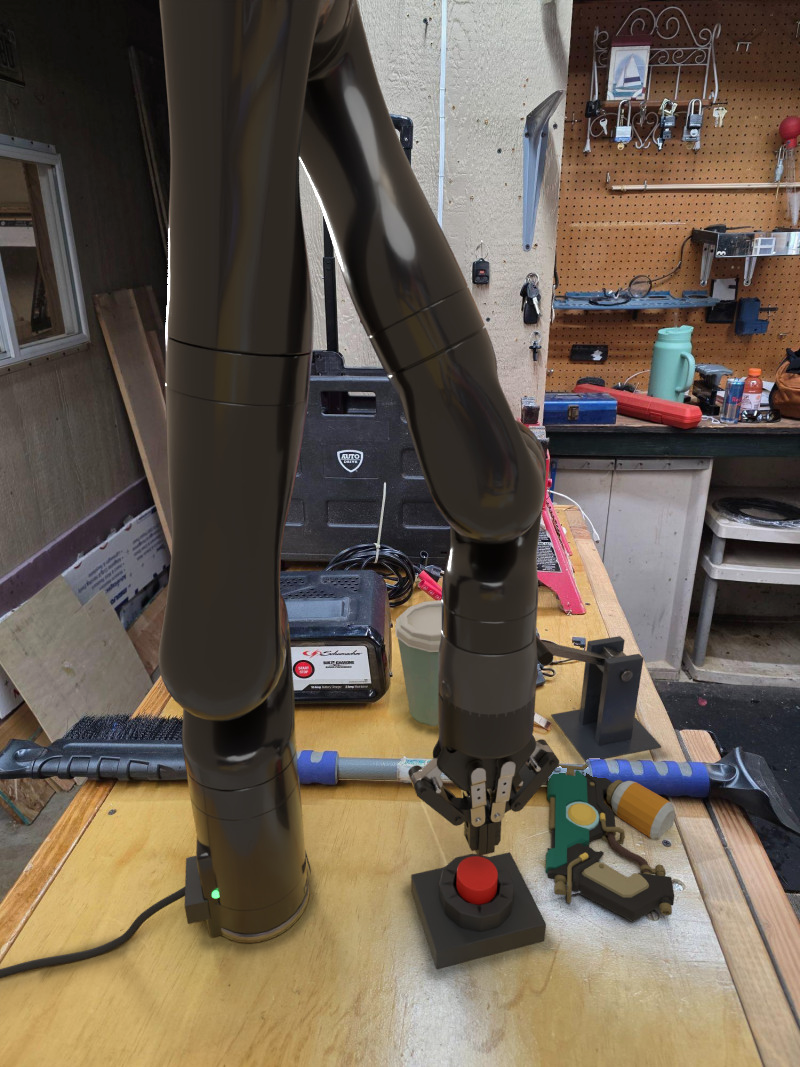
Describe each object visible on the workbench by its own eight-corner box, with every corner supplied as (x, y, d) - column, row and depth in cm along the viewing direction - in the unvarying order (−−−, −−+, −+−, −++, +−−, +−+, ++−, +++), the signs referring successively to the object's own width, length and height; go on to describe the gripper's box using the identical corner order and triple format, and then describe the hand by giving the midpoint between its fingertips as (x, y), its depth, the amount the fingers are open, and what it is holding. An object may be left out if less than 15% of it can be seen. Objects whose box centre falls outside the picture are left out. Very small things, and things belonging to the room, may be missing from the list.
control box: (436, 970, 58) (436, 937, 57) (410, 891, 65) (410, 860, 64) (544, 941, 61) (548, 909, 59) (508, 868, 68) (510, 837, 66)
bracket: (584, 769, 80) (596, 677, 75) (550, 721, 88) (558, 635, 83) (660, 754, 83) (675, 663, 78) (619, 709, 91) (631, 624, 86)
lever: (535, 666, 75) (544, 648, 74) (515, 641, 80) (523, 623, 79) (631, 685, 80) (640, 668, 79) (606, 660, 84) (614, 643, 84)
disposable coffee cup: (386, 734, 86) (384, 631, 80) (404, 685, 96) (403, 589, 90) (471, 746, 84) (475, 640, 78) (480, 694, 94) (484, 597, 88)
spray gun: (665, 951, 60) (502, 888, 67) (690, 814, 73) (552, 772, 80) (669, 919, 58) (502, 857, 65) (694, 784, 72) (553, 743, 78)
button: (464, 908, 60) (465, 894, 59) (451, 874, 63) (451, 860, 62) (503, 899, 60) (504, 884, 60) (488, 866, 64) (488, 852, 63)
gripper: (543, 642, 58) (532, 800, 65) (392, 668, 55) (397, 831, 62) (588, 693, 51) (571, 863, 58) (418, 726, 48) (421, 902, 55)
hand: (481, 846), depth 60 cm, fingers closed
